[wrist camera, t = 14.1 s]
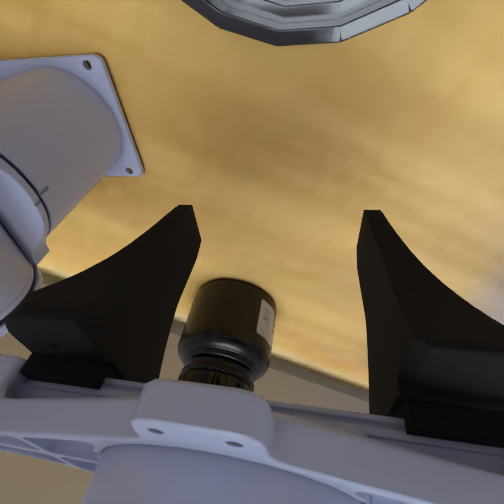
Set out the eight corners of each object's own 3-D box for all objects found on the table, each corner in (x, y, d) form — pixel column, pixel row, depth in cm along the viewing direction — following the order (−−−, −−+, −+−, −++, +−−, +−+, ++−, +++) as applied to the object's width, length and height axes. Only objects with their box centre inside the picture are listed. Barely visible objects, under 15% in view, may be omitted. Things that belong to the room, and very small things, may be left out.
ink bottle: (257, 336, 38) (238, 448, 30) (188, 312, 37) (147, 422, 29) (292, 294, 32) (280, 423, 23) (209, 263, 30) (164, 387, 22)
